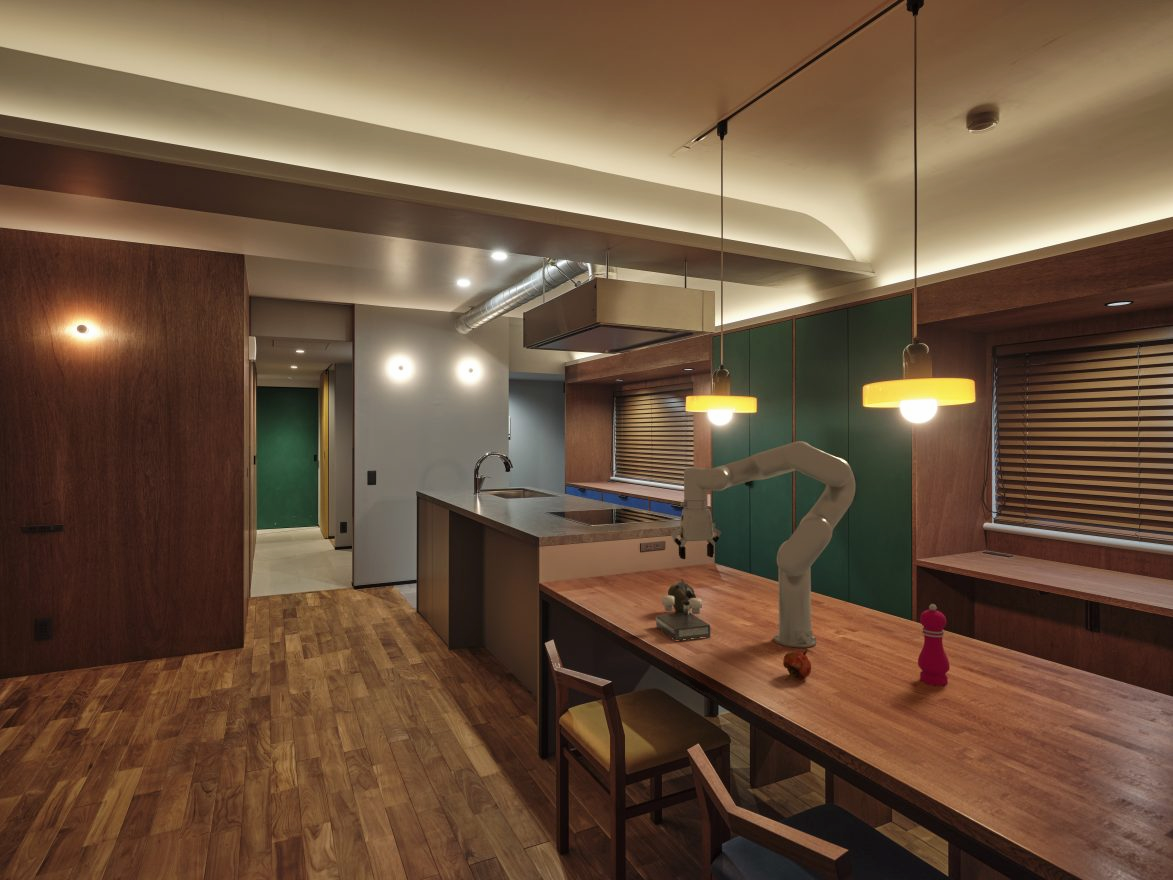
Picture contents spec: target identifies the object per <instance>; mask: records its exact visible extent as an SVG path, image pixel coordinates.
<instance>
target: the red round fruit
mask: <svg viewBox="0 0 1173 880" xmlns="http://www.w3.org/2000/svg"><path fill="white" fill-rule="evenodd" d="M782 665H783V667H784V668H785V669H787V672H788V673H789V674H788V675H787V677H786V678H785V681H787V680H788V679H789V678H790V677H791V676H793V677H796V678H799V679H800V680H804V679H806V678H808V676H810V674H811V672H812V663H811V661H810V659H809V658H808V656H807V651H806V650H805V651H804V652H801V651H796V650H795V651H789V652H787V653H786V654H785V655H784V657H783V661H782Z"/></svg>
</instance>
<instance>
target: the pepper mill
mask: <svg viewBox="0 0 1173 880" xmlns="http://www.w3.org/2000/svg"><path fill="white" fill-rule="evenodd" d="M936 605H937V604H934V603H931V604H930V605H929V606H928V609H927V610H924V611H923V612H921V613H920V617H919V622H920V624H921V625H922V629H921V630H922V631H921V632H922V635H923V637H924V638H923V639H924V640H923V641H924V643H923V646H922V649H921V651H920V653H919V656H918V659H917V665H918V667H919V669H920V670H921V671H920V672H919V673H920V674H919V679H920V681H921V680H922V681H921V682H923V683H924V682H925V684H927V683H928V684H927V685H930V684H932V685H931V686H937V685H942V686H947V684H948V675H947V673H948V672H949V670H950V667H951V666H950V662H949V658H948V656H947V653H946V651H945V648H944V645H943V637H944V636H945V630H944V628H945V627H946V625H947V619H946V616H945V615H944V613H942V612H941V611H939V610H937V609H938V607H937V606H936Z"/></svg>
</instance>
